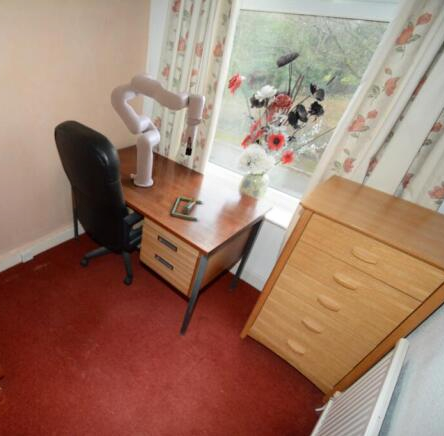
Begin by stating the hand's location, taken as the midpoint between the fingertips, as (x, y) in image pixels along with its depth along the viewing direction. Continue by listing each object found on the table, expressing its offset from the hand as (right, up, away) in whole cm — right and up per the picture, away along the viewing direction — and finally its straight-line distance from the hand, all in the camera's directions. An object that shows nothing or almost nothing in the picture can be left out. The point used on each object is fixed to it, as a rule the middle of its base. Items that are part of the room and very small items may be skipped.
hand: (188, 154), depth 150 cm
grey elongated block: (+1, -30, +2) cm, 30 cm away
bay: (0, -30, +1) cm, 30 cm away
